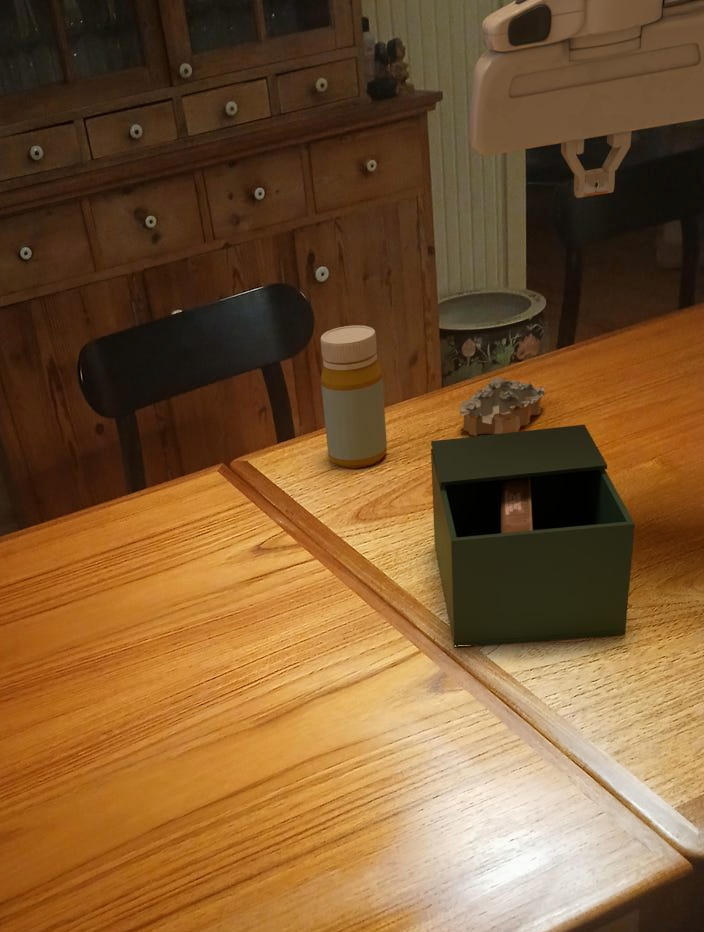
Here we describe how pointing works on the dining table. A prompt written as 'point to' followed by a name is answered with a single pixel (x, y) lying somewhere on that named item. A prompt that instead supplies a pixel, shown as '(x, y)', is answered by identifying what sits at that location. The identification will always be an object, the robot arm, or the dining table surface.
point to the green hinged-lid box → (534, 560)
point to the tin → (516, 506)
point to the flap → (516, 455)
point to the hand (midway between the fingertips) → (593, 194)
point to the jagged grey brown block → (501, 407)
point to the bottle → (353, 397)
